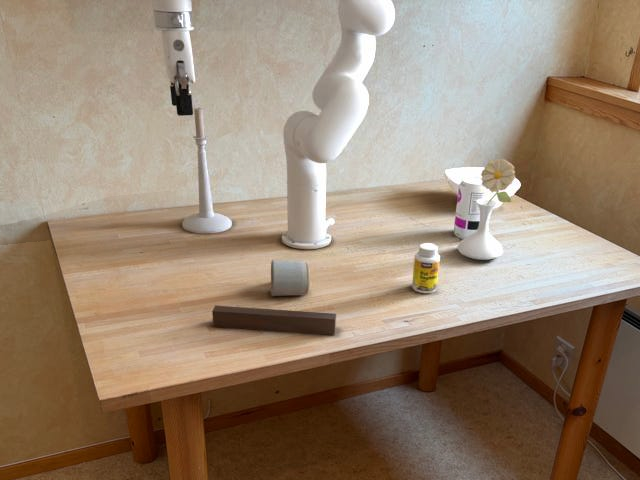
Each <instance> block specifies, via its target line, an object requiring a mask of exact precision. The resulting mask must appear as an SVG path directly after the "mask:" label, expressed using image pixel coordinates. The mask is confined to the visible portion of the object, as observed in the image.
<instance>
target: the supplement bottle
mask: <svg viewBox="0 0 640 480" xmlns="http://www.w3.org/2000/svg"><path fill="white" fill-rule="evenodd" d="M438 248H439V247H438V246H437V245H436V244H434V243H430V242H424V243H421V244H420V245H419V248H418V252H416V253H415V254H414V260H413V261H414V262H413V272H412V274H413V275H412V280H411V281H412V282H411V287H412V289H413V290H414V291H415V292H417V293H421V294H430V293H433V292H435V291H437V288H438V279H439V270H440V262H441V255H439V253H438Z"/></svg>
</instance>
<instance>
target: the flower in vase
mask: <svg viewBox="0 0 640 480" xmlns="http://www.w3.org/2000/svg"><path fill="white" fill-rule="evenodd" d="M483 168H484V170H482V173H481V176H482V178H481V180H482V181H483V182H482V183H481V184H482V185H483V187H485V188H486V189H489V191H491V192H496V194H495V195H494V196H493V197H492V198H491V199H479V200H477V201H476V202H477V204H478V206H479V210H480V221H479V227H478V229H477V231H476V232H474V233H473V234H471V235H469V236H468V237H466V238H464V239H461V240H460V241H459V243H458V244H457V249H458V252H459V253H460V254H461V255H463V256H465V257H467V258H470V259H473V260H477V261H478V260H479V261H489V260H495V259H497V258H500V257H501V256H502V255H503V253H504V249H503V246H502V245H501V244H500V242H499V241H498V240H497V239H496V238H495V237H493V235H492V234H491V233H490V231H489V221H490V217H491V214H492V212H493V210H494V209H495V208H494V207H495V206H496V205H497V202H496V201H494V200H492V199H493V198H494V197H495V196H496V195H497V197H498V200H499V201H500V202H503V203H512V199H511V196H509V195H508V194H507V192H505V191H503V190H506V189H507V188H508V187H509V184H512V181H513V180H514V179H515V178H516V171H515V166H514V165H513V164H512V163H511V162H509V161H508V160H506V159H504V157H501V158H499V159H498V158H495V159H494V160H489V161H488V163H487V164H485V165H484V167H483ZM479 188H480V186H479ZM480 189H481V188H480ZM500 190H501V191H502V192H499V191H500ZM481 191H482V192H484V193H485V194H487V195H488V196H489V197H491V196H490V195H489V194H488V193H487V192H486V191H484V190H483V189H481Z"/></svg>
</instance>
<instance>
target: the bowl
mask: <svg viewBox="0 0 640 480" xmlns="http://www.w3.org/2000/svg"><path fill="white" fill-rule="evenodd" d="M482 170H484V167H478V166H477V167H475V166H473V167H454V168H448V169H445V171H444V176H445V179H446V181H447V183H448V185H449V187H450V188H451V189H452V190H453V191H454V192H455V193H456V196H457V197H458V190H459V184H460V183H461V181H462V179H463V178H464V177H481V178H482V176H481V173H482ZM520 188H521V181H520V180H519V179H518V178H516V177H515V179H514V180H513V181H512V184H509V187H508V188H507V189H506V190H503V191H505V192H507V194H508V195H509V197H512V196H514V195H515V193H516V192H517V191H518V190H519V189H520ZM499 192H502V191H501V190H500V191H499ZM495 194H496V192H491V191H490V196H491V197H490V199H491V198H492V197H493V196H494V195H495ZM492 200H494V201H496V202H497V205H496V206H495V207H494V208H493V209H497V208H499V207H500V206H501V205H502V204H503V203H504V202H500V201H499V200H498V197H497V195H496V196H495V197H494V198H493V199H492Z"/></svg>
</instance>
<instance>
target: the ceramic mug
mask: <svg viewBox="0 0 640 480" xmlns="http://www.w3.org/2000/svg"><path fill="white" fill-rule="evenodd" d="M310 288H311V269H310V265H309V263H308V262H306V261H301V260H282V259H272V260H271V263H270V291H271V296H272V297H282V296H283V297H284V296H287V297H288V296H303V295H307V294H309V292H310Z"/></svg>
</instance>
